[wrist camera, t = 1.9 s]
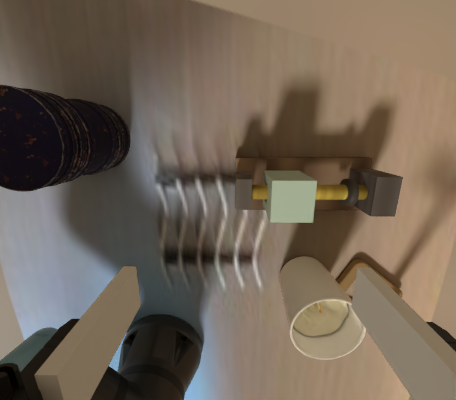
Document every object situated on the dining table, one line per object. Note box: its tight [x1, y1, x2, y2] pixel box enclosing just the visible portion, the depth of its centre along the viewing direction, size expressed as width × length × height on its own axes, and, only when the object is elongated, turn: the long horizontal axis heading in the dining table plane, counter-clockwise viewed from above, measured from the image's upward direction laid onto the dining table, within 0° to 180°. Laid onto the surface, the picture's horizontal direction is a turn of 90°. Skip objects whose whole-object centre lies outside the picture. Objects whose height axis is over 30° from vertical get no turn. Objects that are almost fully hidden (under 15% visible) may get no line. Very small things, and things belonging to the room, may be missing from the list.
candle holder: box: [279, 256, 366, 360], centre depth 36 cm, size 10×10×12 cm
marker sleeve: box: [263, 171, 317, 223], centre depth 31 cm, size 5×5×7 cm
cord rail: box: [235, 157, 403, 216], centre depth 34 cm, size 20×8×8 cm, turn 90°
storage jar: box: [0, 85, 130, 191], centre depth 29 cm, size 10×10×15 cm
